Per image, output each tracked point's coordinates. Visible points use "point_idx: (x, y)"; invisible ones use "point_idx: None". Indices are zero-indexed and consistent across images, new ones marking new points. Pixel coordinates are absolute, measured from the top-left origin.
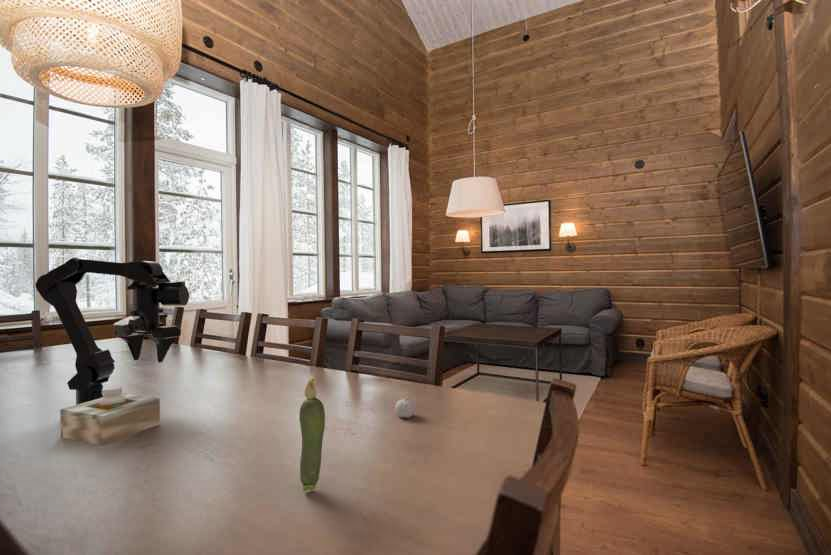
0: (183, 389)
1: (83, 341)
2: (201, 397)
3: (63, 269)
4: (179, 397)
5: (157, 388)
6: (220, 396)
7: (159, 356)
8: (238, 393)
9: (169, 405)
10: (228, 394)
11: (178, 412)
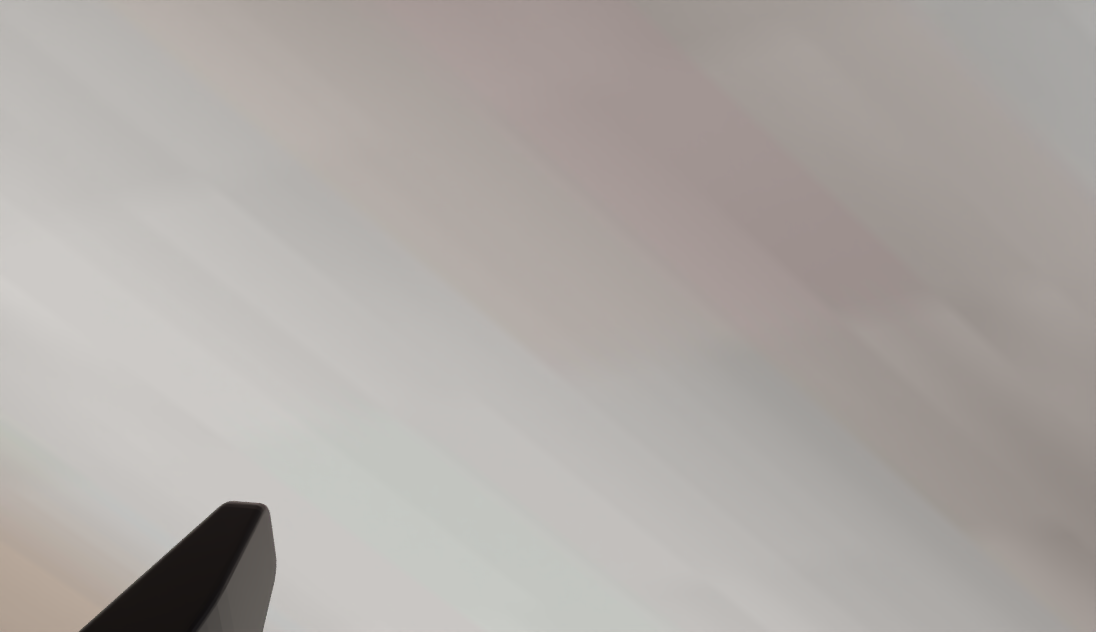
0: (772, 625)
1: None
2: (366, 483)
3: None
4: (594, 440)
5: (1083, 606)
6: None
7: (91, 621)
8: None
9: (453, 206)
10: None
11: (95, 21)
